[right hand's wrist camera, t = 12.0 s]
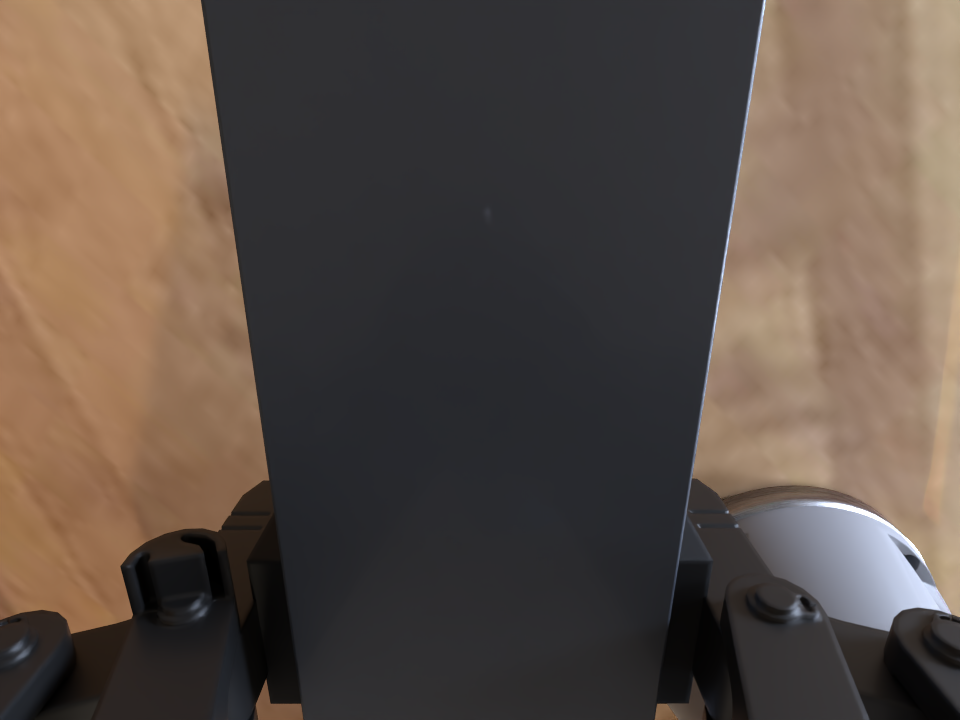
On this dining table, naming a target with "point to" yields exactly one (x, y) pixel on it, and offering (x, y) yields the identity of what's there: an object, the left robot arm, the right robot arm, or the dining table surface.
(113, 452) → the dining table surface
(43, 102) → the dining table surface
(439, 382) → the beam
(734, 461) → the dining table surface
